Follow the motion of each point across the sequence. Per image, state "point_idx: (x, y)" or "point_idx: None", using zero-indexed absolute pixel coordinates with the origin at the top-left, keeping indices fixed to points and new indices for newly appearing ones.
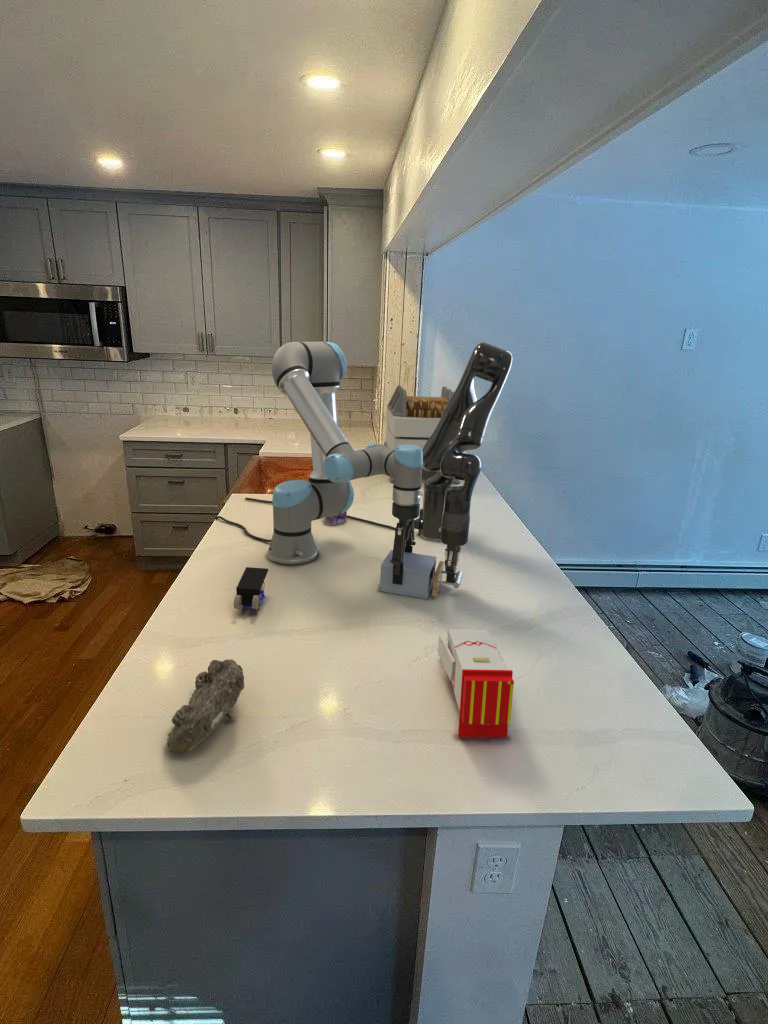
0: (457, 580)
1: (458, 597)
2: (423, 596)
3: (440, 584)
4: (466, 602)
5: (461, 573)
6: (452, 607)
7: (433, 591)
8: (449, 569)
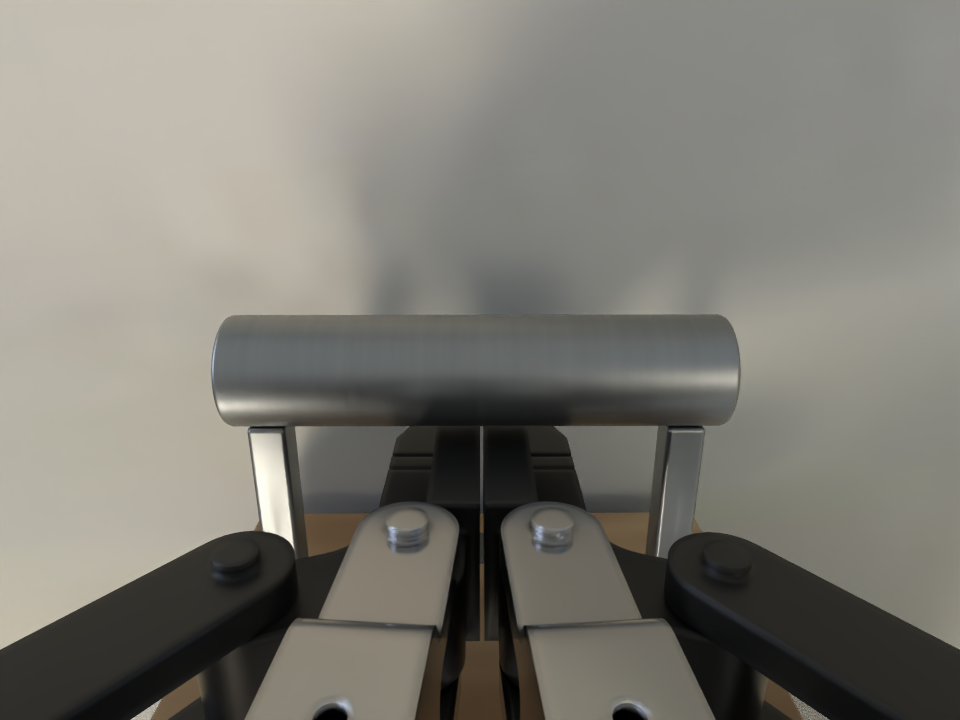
0: (644, 381)
1: (562, 257)
2: None
3: None
4: (673, 134)
5: (271, 346)
6: (842, 292)
7: None
8: (761, 701)
